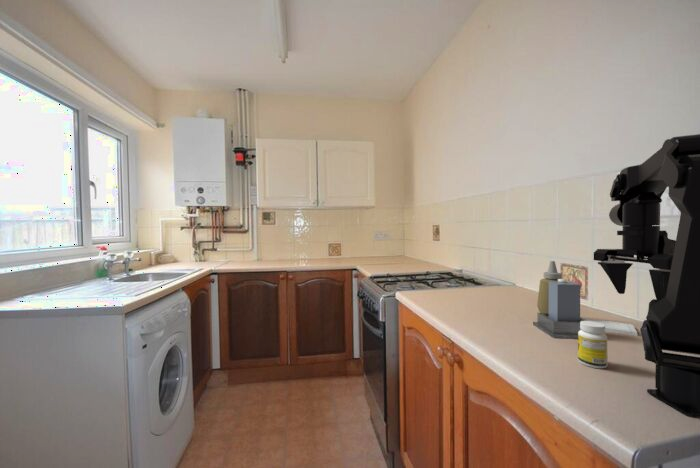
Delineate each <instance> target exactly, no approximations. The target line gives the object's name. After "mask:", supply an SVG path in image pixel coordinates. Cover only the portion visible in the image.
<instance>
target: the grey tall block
mask: <svg viewBox="0 0 700 468" xmlns="http://www.w3.org/2000/svg"><path fill="white" fill-rule="evenodd" d="M549 317H550V318H552V319H553V320H555V321H575V322H580V317H581V284H579V283H575V282H573V281H568V280H567V279H565V278H562V279H558V281H549Z"/></svg>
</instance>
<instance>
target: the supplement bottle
mask: <svg viewBox="0 0 700 468" xmlns="http://www.w3.org/2000/svg"><path fill="white" fill-rule="evenodd" d="M580 329H581V330H580V331H579V332H578V339H577V358H578V359H577V361H578V362H579V363H580V364H581V365H584V366H587V367H589V368H592V369H593V368H595V369H606V368H607V367H608V336H607V335H606V331H605V325H603V324H601V323H598V322H593V321H581V322H580Z"/></svg>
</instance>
